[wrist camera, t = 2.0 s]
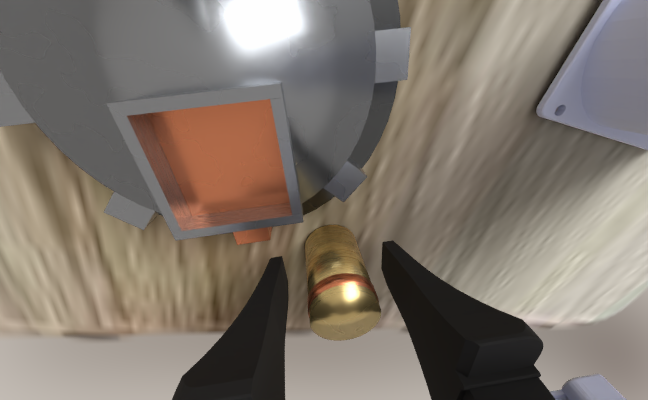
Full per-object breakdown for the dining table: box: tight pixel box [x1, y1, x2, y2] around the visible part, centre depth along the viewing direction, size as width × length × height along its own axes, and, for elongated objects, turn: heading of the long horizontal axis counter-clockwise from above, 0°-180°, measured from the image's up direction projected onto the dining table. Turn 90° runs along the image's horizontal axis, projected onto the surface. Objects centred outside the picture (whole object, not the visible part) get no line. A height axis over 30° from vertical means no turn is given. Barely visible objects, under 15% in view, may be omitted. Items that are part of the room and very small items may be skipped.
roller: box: [305, 225, 381, 340], centre depth 13 cm, size 3×3×5 cm
